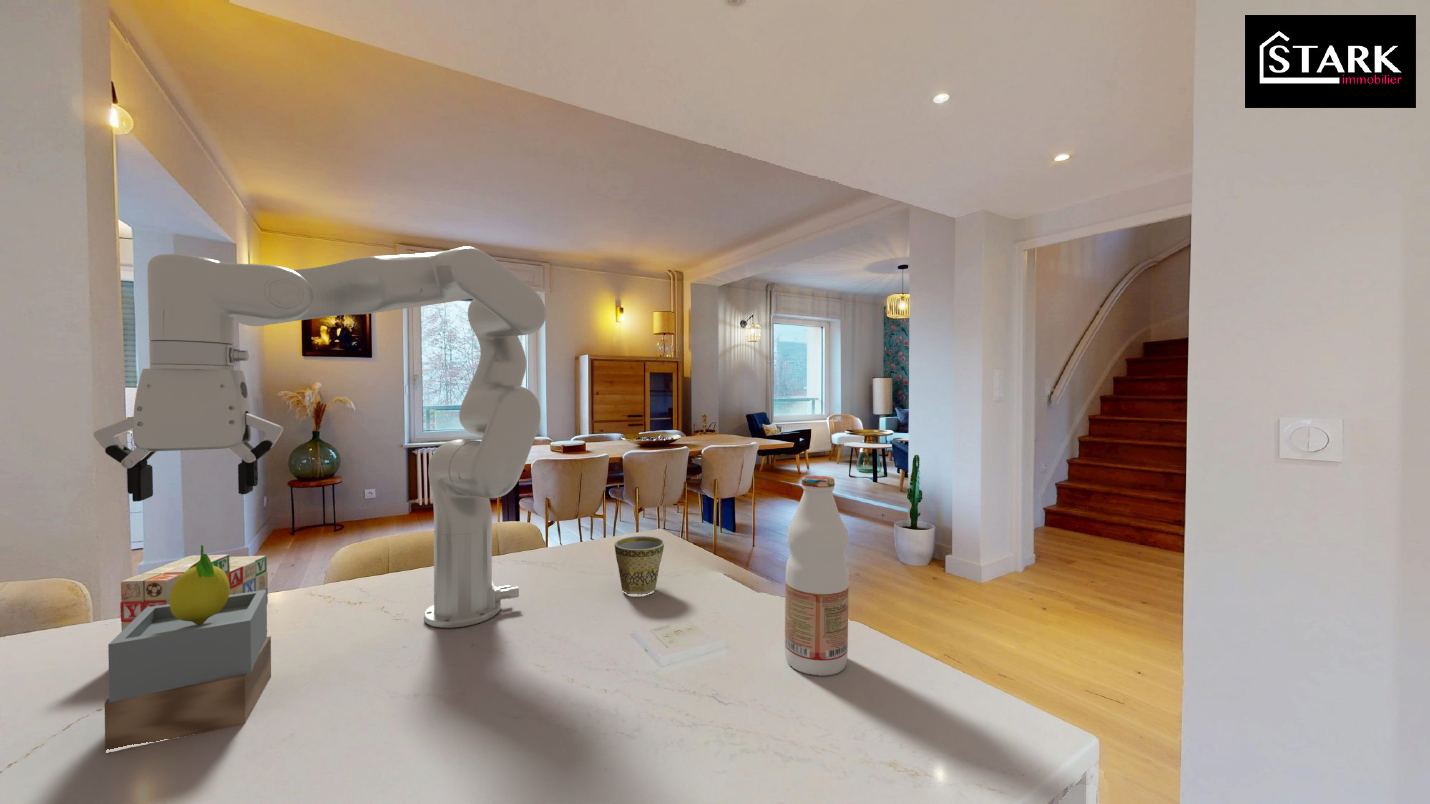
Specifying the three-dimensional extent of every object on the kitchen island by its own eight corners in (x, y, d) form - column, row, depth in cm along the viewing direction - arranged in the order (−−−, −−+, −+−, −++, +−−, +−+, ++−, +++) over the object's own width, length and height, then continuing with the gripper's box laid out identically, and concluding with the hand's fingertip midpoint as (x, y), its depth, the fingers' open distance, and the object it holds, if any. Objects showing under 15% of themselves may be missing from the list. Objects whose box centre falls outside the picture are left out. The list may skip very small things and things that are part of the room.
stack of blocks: (232, 605, 101) (231, 540, 100) (268, 603, 101) (268, 539, 101) (120, 662, 79) (119, 580, 79) (167, 660, 80) (166, 578, 80)
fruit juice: (780, 672, 78) (783, 480, 77) (788, 643, 87) (790, 471, 87) (847, 681, 76) (850, 484, 75) (847, 650, 85) (850, 474, 84)
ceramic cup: (660, 601, 104) (661, 550, 104) (609, 600, 104) (609, 549, 104) (667, 578, 117) (668, 532, 117) (622, 577, 117) (622, 531, 117)
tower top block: (267, 635, 76) (266, 589, 76) (250, 672, 66) (250, 620, 66) (147, 657, 69) (146, 607, 69) (109, 702, 59) (108, 644, 59)
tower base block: (271, 678, 76) (270, 636, 76) (245, 725, 65) (244, 676, 65) (154, 700, 70) (153, 655, 70) (105, 755, 59) (104, 702, 59)
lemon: (211, 633, 65) (214, 550, 65) (151, 637, 64) (155, 552, 64) (243, 613, 72) (246, 538, 72) (190, 617, 70) (193, 540, 70)
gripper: (288, 361, 74) (290, 485, 74) (111, 357, 66) (115, 496, 66) (273, 359, 67) (275, 495, 67) (74, 354, 59) (78, 508, 60)
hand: (196, 495), depth 67 cm, fingers open, 9 cm apart
